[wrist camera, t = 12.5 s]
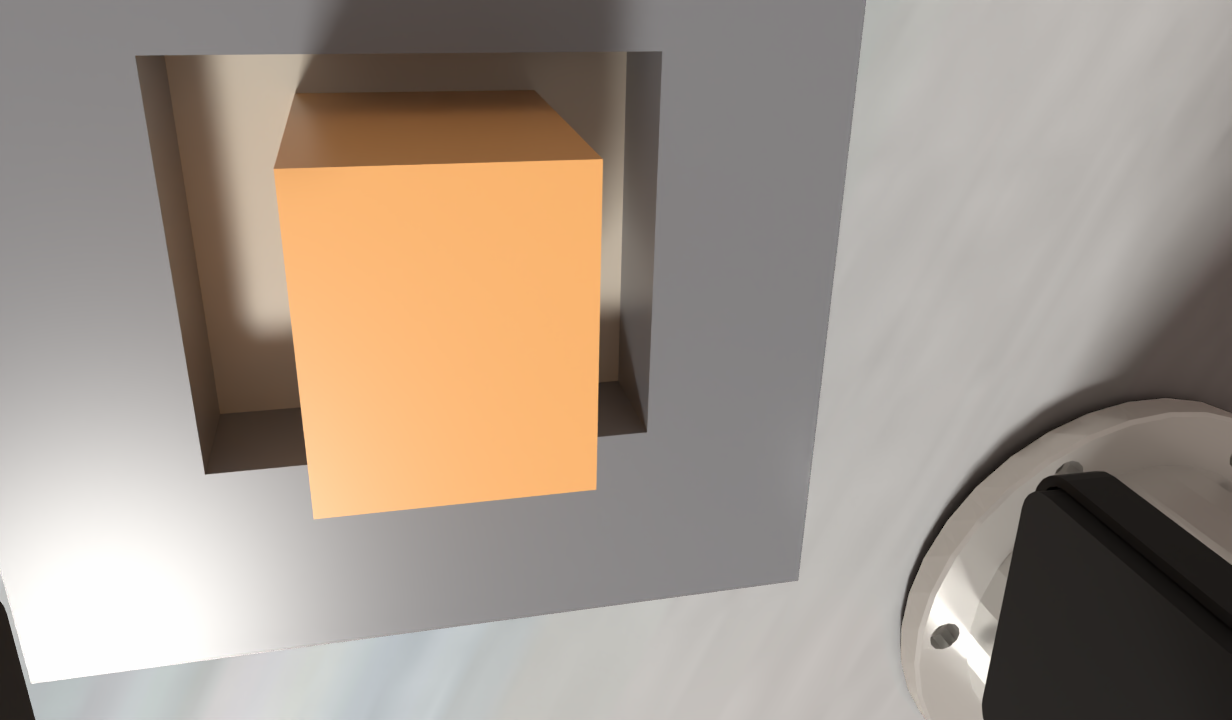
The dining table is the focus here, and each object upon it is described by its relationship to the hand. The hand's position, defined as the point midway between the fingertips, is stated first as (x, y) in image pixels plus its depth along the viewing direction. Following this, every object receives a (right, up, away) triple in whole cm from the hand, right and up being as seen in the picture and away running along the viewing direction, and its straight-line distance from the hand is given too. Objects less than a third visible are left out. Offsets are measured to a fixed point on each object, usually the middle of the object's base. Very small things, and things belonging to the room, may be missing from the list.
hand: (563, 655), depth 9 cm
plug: (-3, +5, +11) cm, 13 cm away
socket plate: (-4, +6, +11) cm, 13 cm away
